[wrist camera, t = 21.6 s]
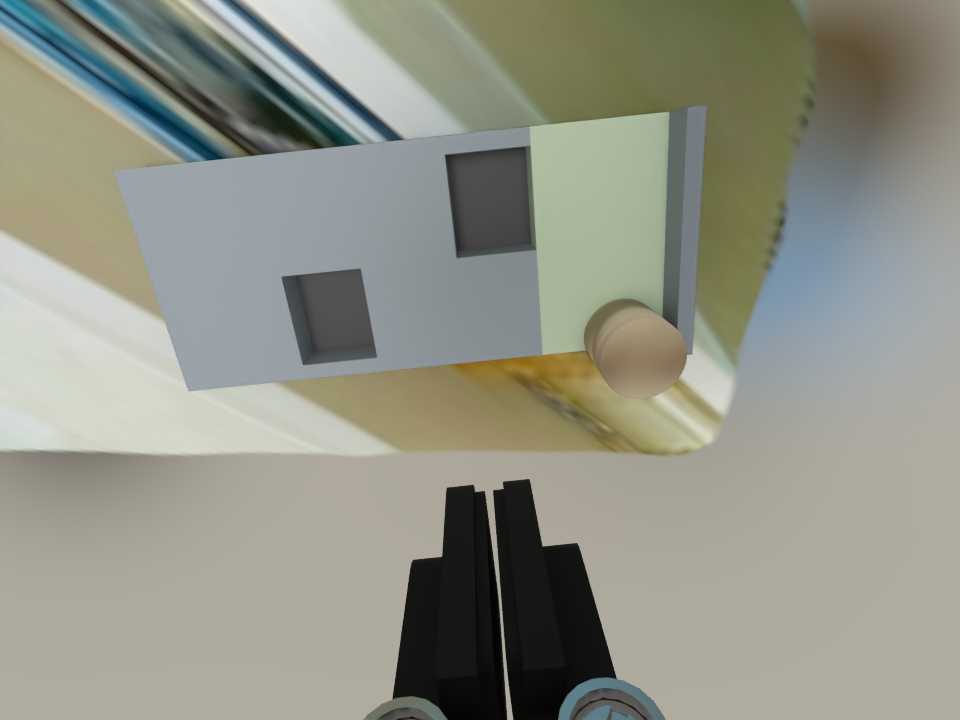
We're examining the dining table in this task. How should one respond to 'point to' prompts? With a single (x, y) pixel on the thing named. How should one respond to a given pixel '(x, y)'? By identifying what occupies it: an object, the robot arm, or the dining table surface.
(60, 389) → the dining table surface
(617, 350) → the tan short rounded piece
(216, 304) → the board
